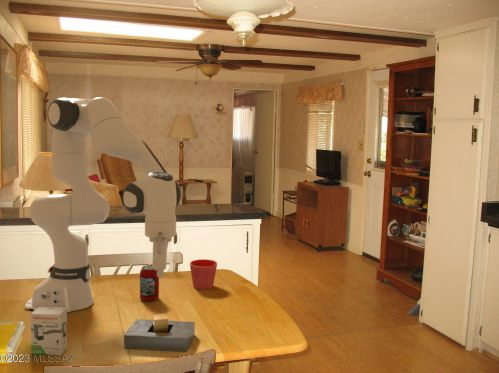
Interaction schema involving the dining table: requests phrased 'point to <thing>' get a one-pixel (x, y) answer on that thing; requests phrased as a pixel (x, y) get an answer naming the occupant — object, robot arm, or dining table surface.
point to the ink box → (48, 330)
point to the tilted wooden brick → (160, 323)
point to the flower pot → (203, 273)
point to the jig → (159, 336)
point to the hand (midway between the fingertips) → (160, 275)
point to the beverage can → (149, 283)
